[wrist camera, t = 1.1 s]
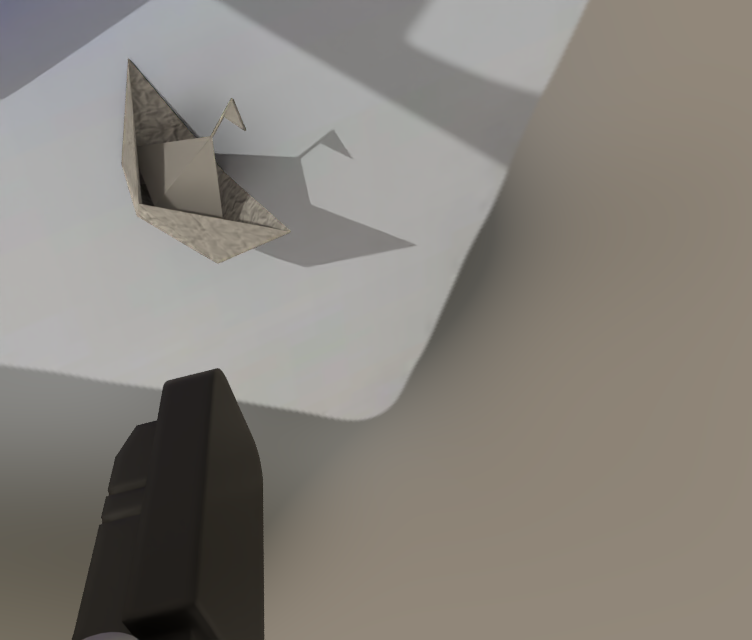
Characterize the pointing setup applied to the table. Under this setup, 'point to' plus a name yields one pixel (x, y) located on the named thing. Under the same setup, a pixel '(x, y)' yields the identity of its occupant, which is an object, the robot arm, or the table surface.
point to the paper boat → (187, 179)
